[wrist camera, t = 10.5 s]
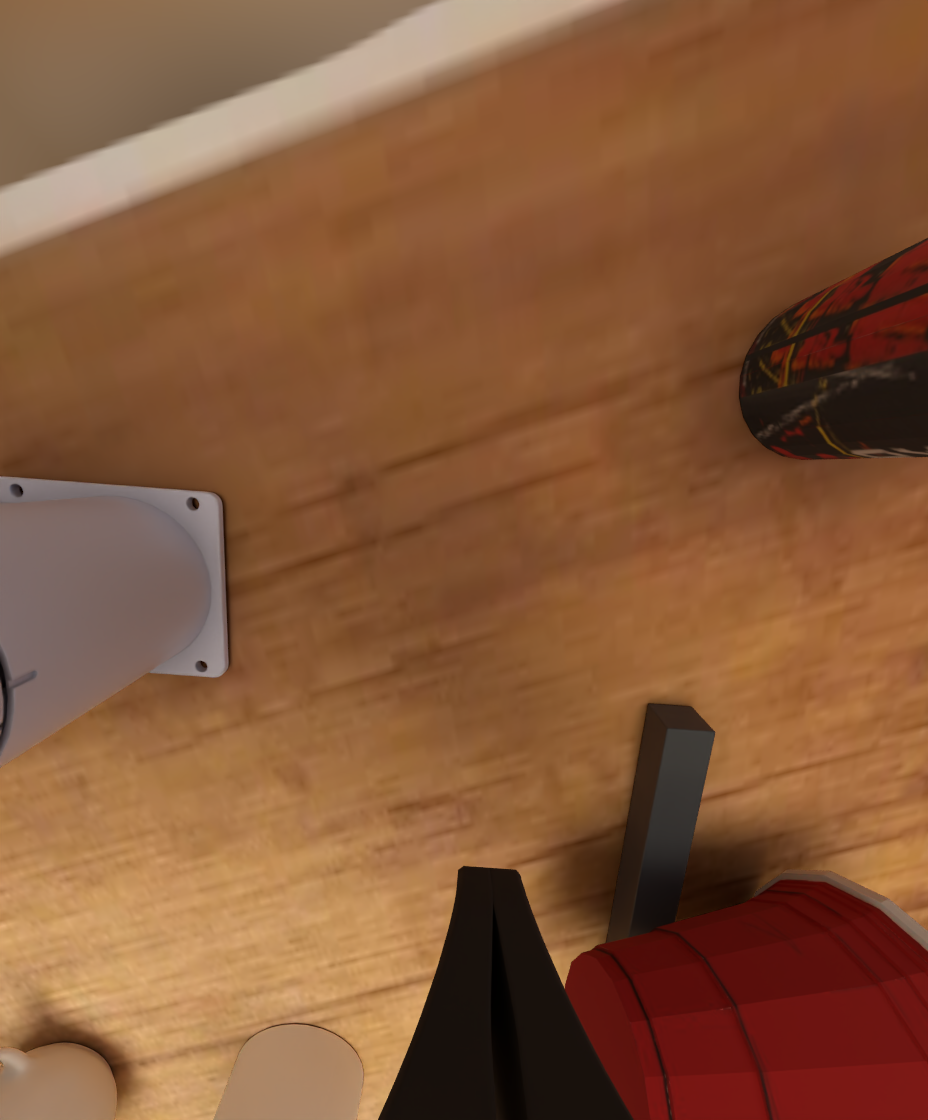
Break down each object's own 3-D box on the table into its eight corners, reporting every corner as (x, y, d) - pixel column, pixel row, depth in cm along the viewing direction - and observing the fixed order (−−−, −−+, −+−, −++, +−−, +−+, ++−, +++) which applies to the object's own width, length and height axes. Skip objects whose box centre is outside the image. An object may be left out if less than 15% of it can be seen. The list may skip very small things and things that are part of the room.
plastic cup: (518, 955, 22) (728, 951, 24) (608, 1439, 12) (950, 1357, 14) (587, 799, 18) (831, 812, 20) (808, 1337, 8) (1239, 1243, 10)
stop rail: (593, 1009, 24) (605, 1058, 22) (647, 702, 20) (667, 728, 18) (631, 1011, 24) (645, 1060, 22) (691, 706, 20) (716, 732, 18)
